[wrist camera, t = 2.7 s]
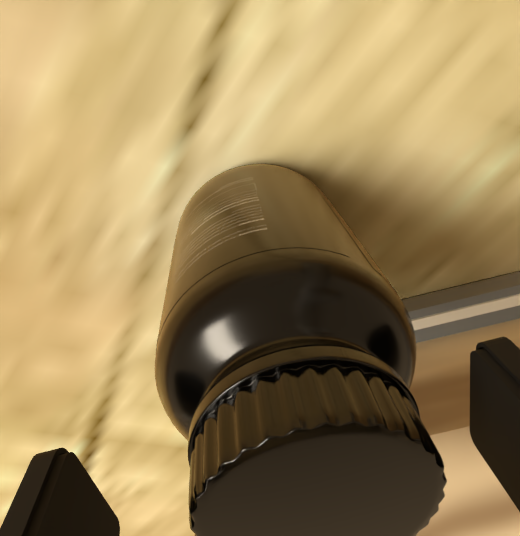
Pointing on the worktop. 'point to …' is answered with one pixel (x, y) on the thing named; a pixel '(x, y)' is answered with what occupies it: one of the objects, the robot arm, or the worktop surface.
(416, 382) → the oak plinth
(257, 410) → the supplement bottle
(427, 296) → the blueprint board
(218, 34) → the worktop surface
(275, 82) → the worktop surface
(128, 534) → the worktop surface
